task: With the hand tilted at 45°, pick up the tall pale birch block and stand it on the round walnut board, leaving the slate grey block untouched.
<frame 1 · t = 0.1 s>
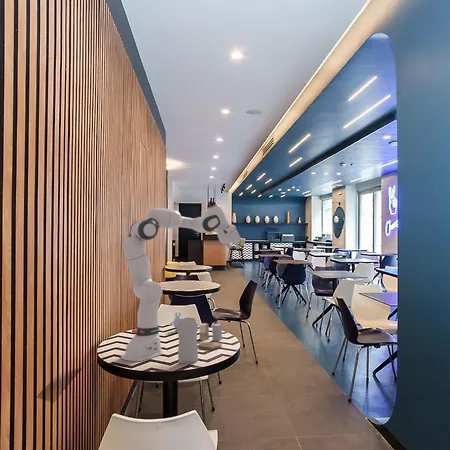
hand: (234, 248, 238), 54 cm above the table, tool tilted 30°, fingers open, 8 cm apart
toy figure: (178, 331, 255), on the table
tall pale column: (188, 362, 191), on the table
walnut board: (209, 346, 217), on the table
birch block: (204, 339, 233), on the table
slate grey block: (217, 339, 231), on the table
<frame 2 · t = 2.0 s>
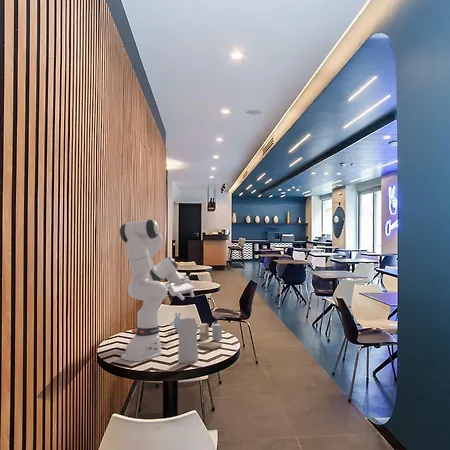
hand: (188, 297, 241), 24 cm above the table, tool tilted 45°, fingers open, 8 cm apart
nothing on the table moved.
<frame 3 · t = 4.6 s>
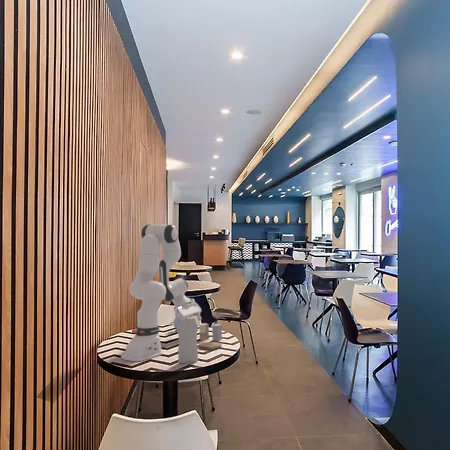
hand: (196, 321, 237), 10 cm above the table, tool tilted 45°, fingers open, 8 cm apart
nothing on the table moved.
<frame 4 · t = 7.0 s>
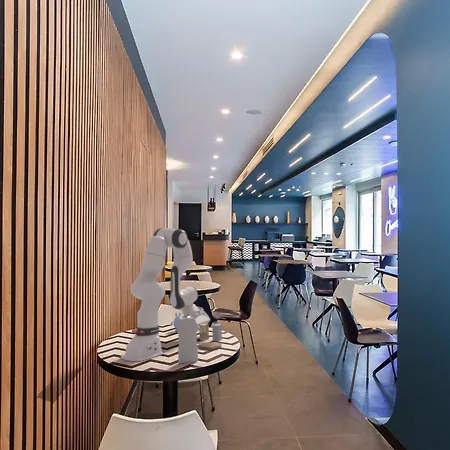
hand: (205, 331, 233), 5 cm above the table, tool tilted 45°, fingers closed on birch block, 4 cm apart
birch block: (204, 339, 233), on the table, touching gripper
everything else where it was.
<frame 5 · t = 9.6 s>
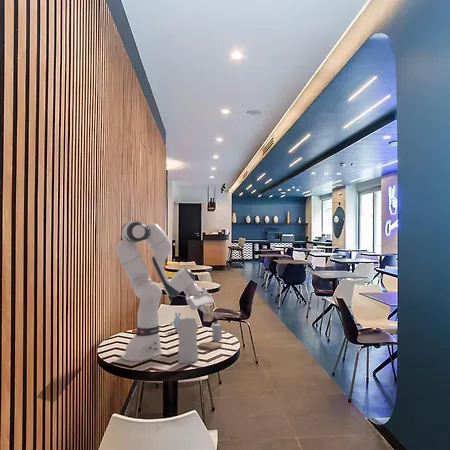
hand: (209, 312, 219), 19 cm above the table, tool tilted 45°, fingers closed on birch block, 4 cm apart
birch block: (208, 320, 219), point 14 cm above the table, touching gripper
everything else where it was.
when the fingers open (7 cm above the table, at t = 12.5 s): birch block drops 1 cm, resting on walnut board.
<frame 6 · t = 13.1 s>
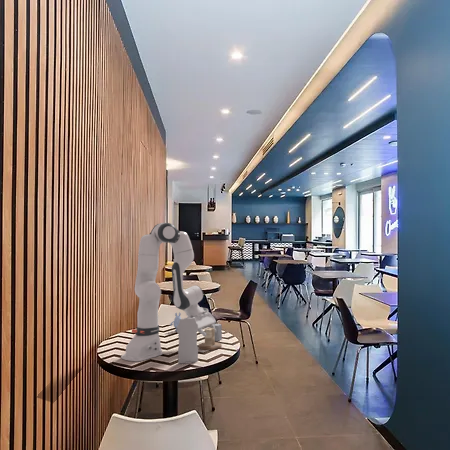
hand: (210, 333, 217), 7 cm above the table, tool tilted 45°, fingers open, 8 cm apart
birch block: (209, 344, 217), point 1 cm above the table, touching walnut board
everything else where it was.
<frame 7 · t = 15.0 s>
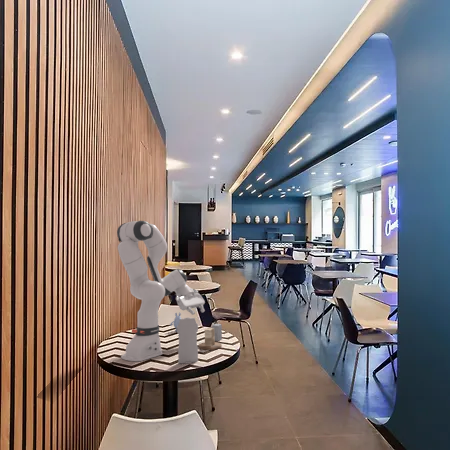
hand: (198, 312, 224), 18 cm above the table, tool tilted 45°, fingers open, 8 cm apart
nothing on the table moved.
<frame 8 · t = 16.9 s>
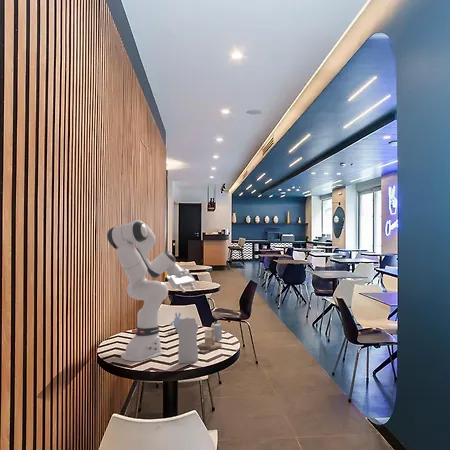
hand: (189, 290, 235), 29 cm above the table, tool tilted 45°, fingers open, 8 cm apart
nothing on the table moved.
at the end: birch block 0.0 cm off-centre on the walnut board, point 1.0 cm above the walnut board's base; birch block tilted 0°; slate grey block moved 0.0 cm from its start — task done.
